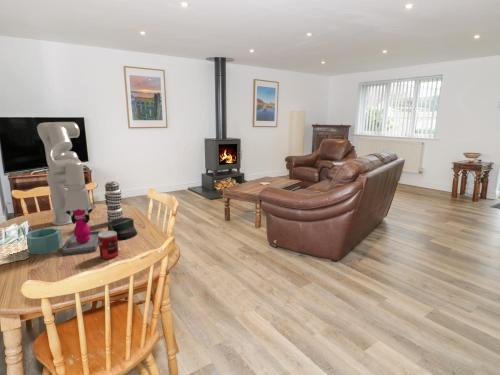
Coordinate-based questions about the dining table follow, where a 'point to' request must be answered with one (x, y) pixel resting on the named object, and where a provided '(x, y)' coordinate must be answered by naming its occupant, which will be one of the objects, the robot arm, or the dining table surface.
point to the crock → (44, 240)
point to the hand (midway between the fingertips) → (81, 222)
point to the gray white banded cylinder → (113, 201)
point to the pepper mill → (81, 226)
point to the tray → (81, 244)
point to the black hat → (123, 228)
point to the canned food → (108, 244)
